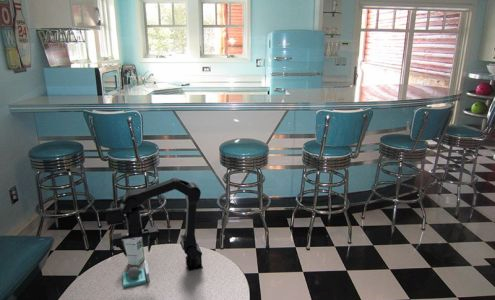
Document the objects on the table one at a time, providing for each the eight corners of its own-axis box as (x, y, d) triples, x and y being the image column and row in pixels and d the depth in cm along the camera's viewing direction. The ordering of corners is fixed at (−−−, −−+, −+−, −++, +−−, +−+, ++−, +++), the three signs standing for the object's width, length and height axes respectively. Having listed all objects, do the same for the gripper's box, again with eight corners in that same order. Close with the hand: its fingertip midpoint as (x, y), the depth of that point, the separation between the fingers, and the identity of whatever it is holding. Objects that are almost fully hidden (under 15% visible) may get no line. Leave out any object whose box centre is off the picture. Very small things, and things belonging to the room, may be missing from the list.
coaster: (144, 270, 156) (144, 268, 155) (146, 282, 148) (145, 279, 147) (123, 275, 153) (122, 272, 152) (123, 287, 144) (123, 284, 144)
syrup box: (138, 265, 159) (136, 237, 156) (127, 264, 161) (124, 236, 157) (144, 258, 165) (142, 231, 161) (133, 257, 166) (130, 230, 162)
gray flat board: (147, 267, 158) (146, 259, 157) (149, 281, 149) (149, 273, 147) (144, 267, 158) (144, 259, 157) (146, 281, 148) (146, 273, 147)
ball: (140, 280, 149) (140, 269, 147) (128, 282, 147) (127, 272, 146) (139, 273, 153) (139, 263, 152) (128, 275, 151) (127, 265, 150)
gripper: (154, 209, 154) (157, 240, 158) (110, 216, 148) (114, 248, 152) (157, 219, 144) (160, 253, 148) (109, 228, 138) (114, 262, 142)
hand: (137, 253), depth 148 cm, fingers open, 9 cm apart
